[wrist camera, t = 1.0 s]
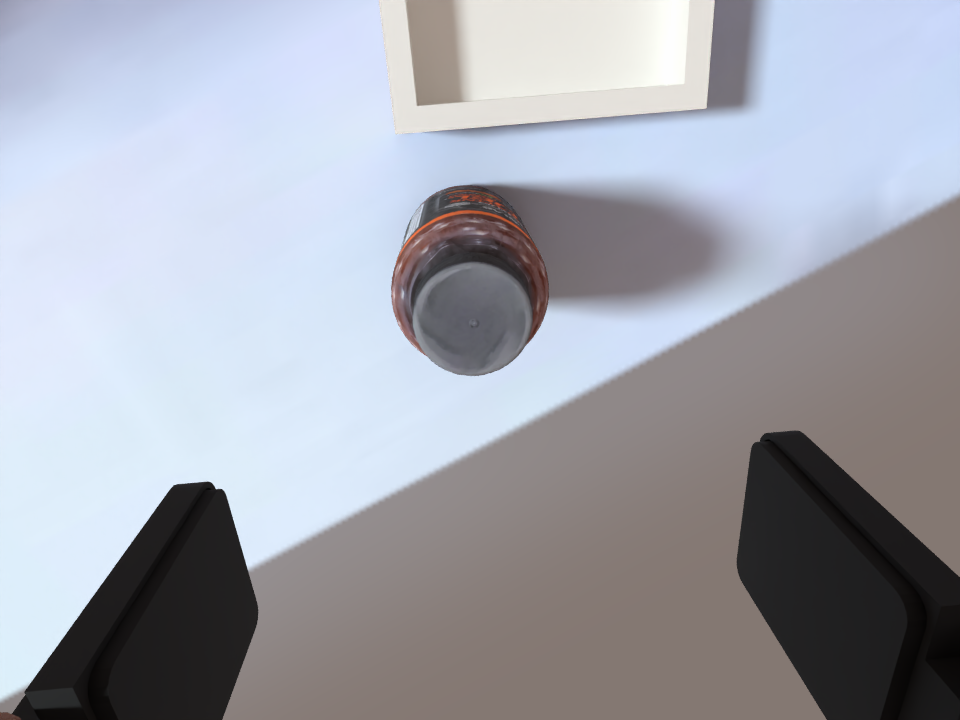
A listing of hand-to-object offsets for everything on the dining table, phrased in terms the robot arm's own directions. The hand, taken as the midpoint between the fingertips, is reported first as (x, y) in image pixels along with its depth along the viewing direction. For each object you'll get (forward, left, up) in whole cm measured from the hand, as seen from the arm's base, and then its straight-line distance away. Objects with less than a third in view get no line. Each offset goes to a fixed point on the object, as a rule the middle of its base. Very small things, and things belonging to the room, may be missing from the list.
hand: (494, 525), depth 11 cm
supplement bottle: (0, 0, -21) cm, 21 cm away
